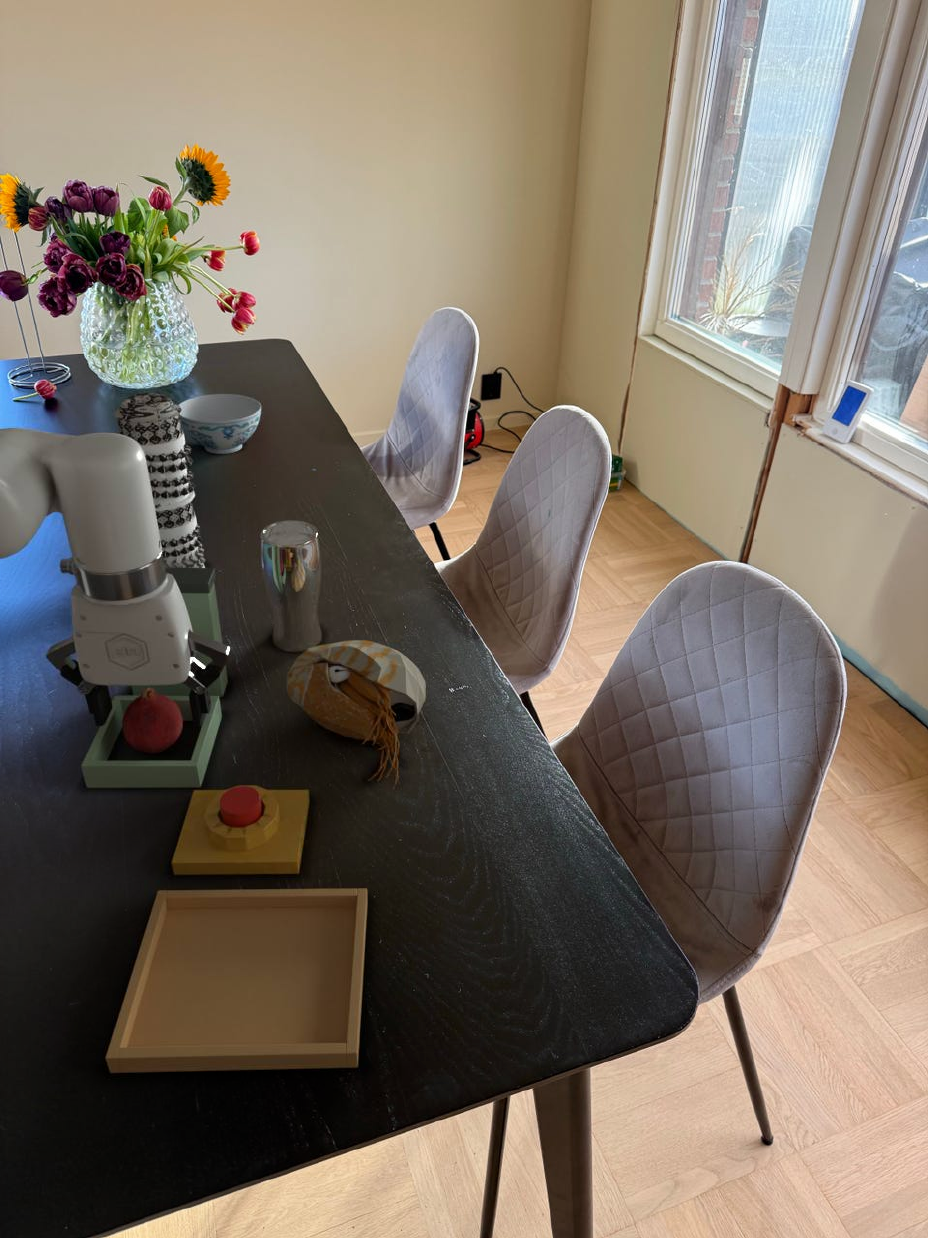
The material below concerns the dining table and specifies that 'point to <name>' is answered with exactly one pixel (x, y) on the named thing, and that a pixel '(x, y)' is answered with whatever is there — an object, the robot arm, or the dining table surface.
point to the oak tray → (245, 982)
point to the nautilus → (359, 692)
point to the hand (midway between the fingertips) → (153, 717)
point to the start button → (240, 806)
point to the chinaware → (220, 420)
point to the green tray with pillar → (206, 623)
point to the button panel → (243, 836)
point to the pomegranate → (152, 722)
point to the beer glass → (292, 582)
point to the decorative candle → (166, 474)
